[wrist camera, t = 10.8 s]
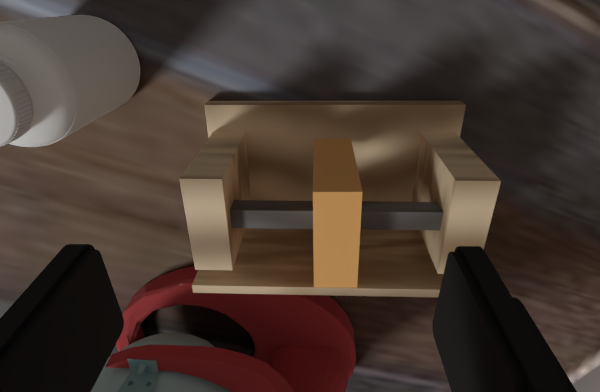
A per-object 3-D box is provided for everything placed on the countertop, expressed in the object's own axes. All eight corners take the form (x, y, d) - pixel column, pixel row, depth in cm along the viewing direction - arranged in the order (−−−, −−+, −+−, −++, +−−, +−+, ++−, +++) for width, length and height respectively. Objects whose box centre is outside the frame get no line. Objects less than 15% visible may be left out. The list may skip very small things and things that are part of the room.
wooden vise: (208, 100, 36) (165, 144, 26) (460, 100, 35) (518, 146, 25) (223, 220, 42) (193, 293, 32) (438, 222, 41) (477, 299, 31)
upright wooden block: (314, 139, 34) (312, 191, 25) (350, 138, 34) (362, 191, 25) (314, 217, 38) (313, 287, 29) (347, 217, 38) (357, 287, 29)
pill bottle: (148, 29, 33) (37, 57, 20) (138, 116, 37) (39, 188, 24) (53, -1, 33) (-126, 7, 19) (53, 91, 36) (-98, 151, 23)
